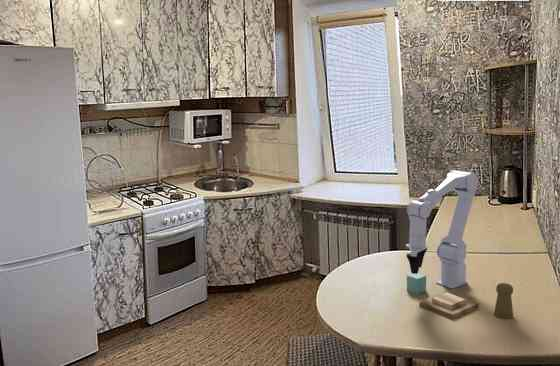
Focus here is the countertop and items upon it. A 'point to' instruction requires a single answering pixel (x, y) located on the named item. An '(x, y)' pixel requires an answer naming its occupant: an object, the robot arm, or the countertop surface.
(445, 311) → the walnut stand
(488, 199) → the countertop surface
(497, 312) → the salt shaker
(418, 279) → the teal block
